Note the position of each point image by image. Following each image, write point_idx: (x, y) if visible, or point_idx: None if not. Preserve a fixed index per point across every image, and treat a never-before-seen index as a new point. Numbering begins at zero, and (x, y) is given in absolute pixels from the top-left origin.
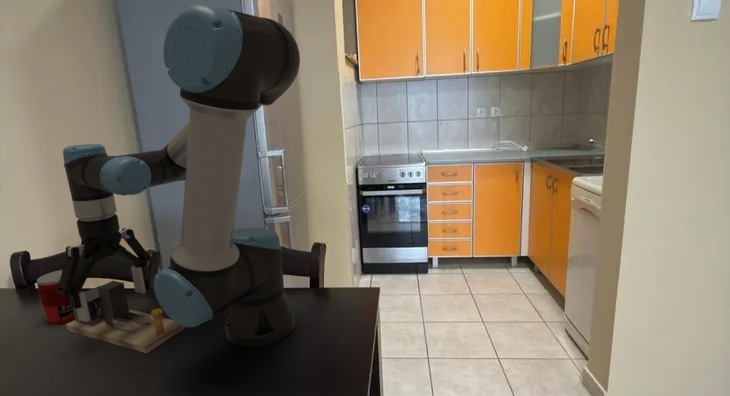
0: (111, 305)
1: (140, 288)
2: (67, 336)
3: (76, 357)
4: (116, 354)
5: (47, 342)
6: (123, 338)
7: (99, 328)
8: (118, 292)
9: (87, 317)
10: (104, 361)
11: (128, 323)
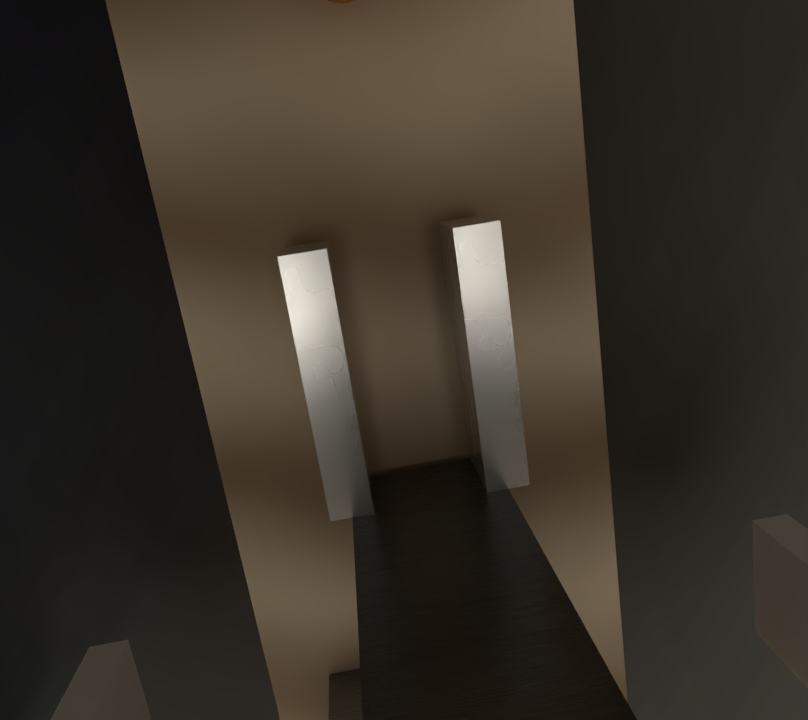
0: (548, 569)
1: (116, 710)
2: (658, 689)
3: (788, 364)
4: (653, 125)
5: (751, 716)
6: (564, 207)
7: (560, 550)
8: (463, 666)
9: (797, 537)
10: (746, 115)
11: (503, 259)
